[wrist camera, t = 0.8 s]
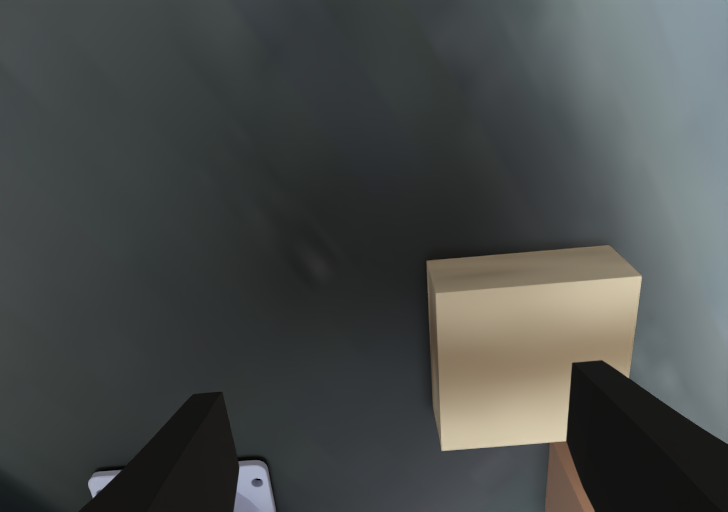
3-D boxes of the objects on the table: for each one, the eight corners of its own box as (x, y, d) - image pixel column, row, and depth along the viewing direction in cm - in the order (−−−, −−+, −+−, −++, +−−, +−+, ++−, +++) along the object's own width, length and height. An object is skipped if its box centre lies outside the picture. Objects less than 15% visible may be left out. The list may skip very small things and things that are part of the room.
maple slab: (591, 388, 25) (621, 436, 22) (431, 401, 25) (441, 450, 22) (606, 241, 22) (642, 276, 19) (425, 257, 22) (435, 293, 19)
